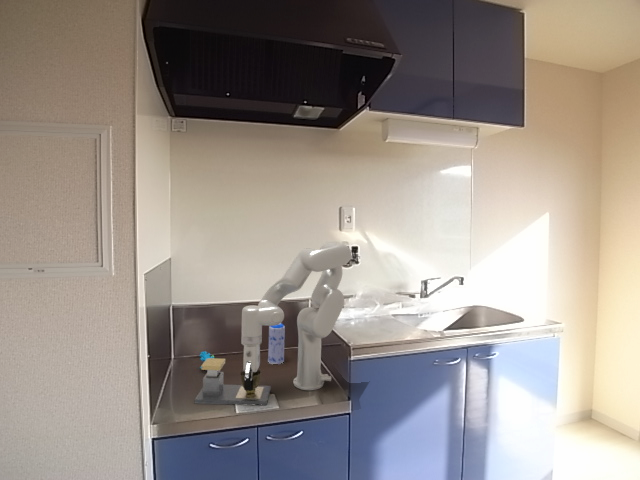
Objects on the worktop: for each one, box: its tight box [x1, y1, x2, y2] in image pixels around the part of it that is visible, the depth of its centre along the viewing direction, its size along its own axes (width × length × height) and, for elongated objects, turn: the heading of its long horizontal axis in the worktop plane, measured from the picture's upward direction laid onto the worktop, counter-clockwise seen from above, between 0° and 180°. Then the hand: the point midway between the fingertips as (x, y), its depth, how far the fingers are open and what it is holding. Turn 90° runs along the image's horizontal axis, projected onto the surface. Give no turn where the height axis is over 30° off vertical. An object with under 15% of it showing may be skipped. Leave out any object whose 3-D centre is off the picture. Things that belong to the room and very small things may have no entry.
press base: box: [193, 371, 271, 406], centre depth 132 cm, size 26×12×8 cm, turn 91°
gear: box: [199, 350, 215, 370], centre depth 156 cm, size 11×6×10 cm
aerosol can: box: [267, 322, 286, 365], centre depth 166 cm, size 8×8×20 cm
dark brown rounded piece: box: [240, 369, 261, 394], centre depth 133 cm, size 8×7×8 cm
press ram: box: [200, 357, 226, 378], centre depth 132 cm, size 7×7×8 cm
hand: (250, 384), depth 133 cm, fingers open, 7 cm apart
